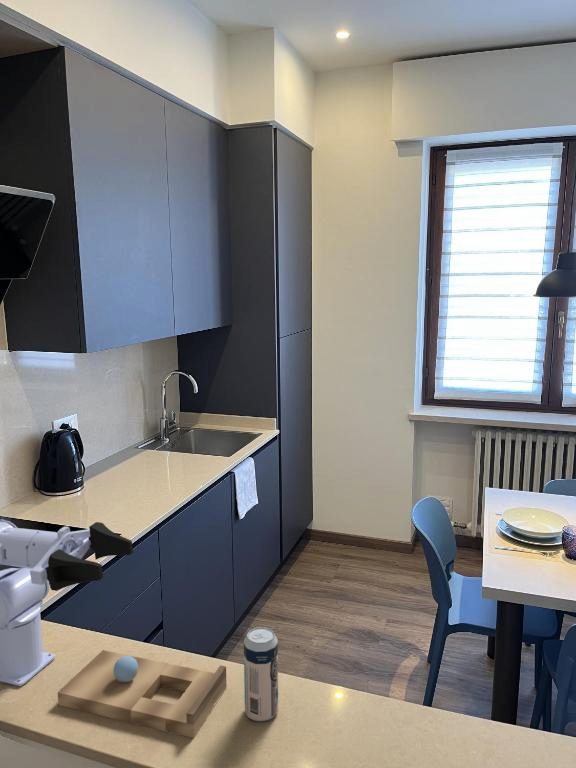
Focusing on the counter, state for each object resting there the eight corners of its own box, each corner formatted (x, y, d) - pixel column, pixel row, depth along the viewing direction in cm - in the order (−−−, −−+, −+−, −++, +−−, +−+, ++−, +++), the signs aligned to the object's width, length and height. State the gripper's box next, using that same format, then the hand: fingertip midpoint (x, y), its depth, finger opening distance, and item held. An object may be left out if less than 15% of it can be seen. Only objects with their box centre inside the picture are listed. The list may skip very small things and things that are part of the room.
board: (58, 704, 86) (56, 683, 85) (103, 661, 96) (102, 641, 96) (193, 738, 79) (193, 714, 79) (226, 687, 90) (226, 666, 89)
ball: (109, 685, 87) (107, 662, 87) (122, 670, 91) (121, 649, 90) (130, 689, 86) (129, 667, 86) (143, 675, 89) (142, 653, 89)
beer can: (283, 718, 83) (282, 640, 81) (250, 728, 81) (249, 647, 79) (271, 697, 87) (270, 622, 86) (240, 706, 86) (239, 629, 84)
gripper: (1, 547, 82) (82, 557, 78) (68, 506, 96) (140, 513, 92) (8, 593, 84) (88, 605, 80) (73, 546, 97) (144, 555, 93)
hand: (116, 559), depth 86 cm, fingers open, 7 cm apart
